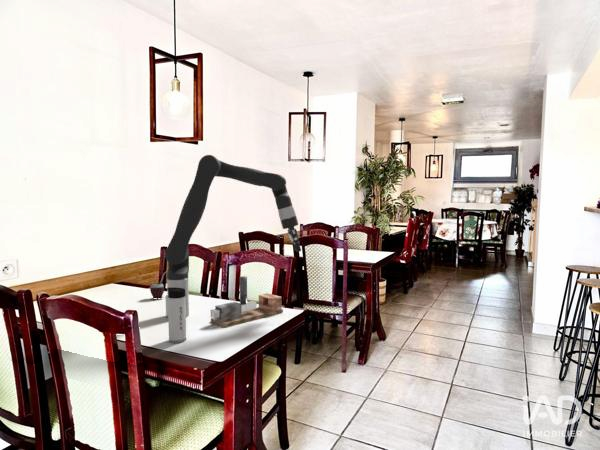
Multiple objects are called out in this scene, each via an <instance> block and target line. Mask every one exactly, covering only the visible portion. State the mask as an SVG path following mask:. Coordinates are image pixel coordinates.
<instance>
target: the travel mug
mask: <svg viewBox="0 0 600 450" xmlns="http://www.w3.org/2000/svg"><path fill="white" fill-rule="evenodd" d="M167 290H168V317H167V318H168V341H169V343H171V344H181V343H184V342H185V341H186V340H187V316H186V298H185V297H186V296H185V289H183V288H177V287H173V288H170V287H168V288H167V287H166V291H167Z"/></svg>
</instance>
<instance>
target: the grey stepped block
mask: <svg viewBox="0 0 600 450" xmlns="http://www.w3.org/2000/svg"><path fill="white" fill-rule="evenodd" d="M239 303H240V304H241V312H244V311H248V310H252V309H256V308H257V301H254V300H251V301H248V276H245V275H244V276H239ZM209 313H210V318H218V317H221V309H219V308H217V309H215V308H213V309H210V312H209Z"/></svg>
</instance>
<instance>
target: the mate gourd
mask: <svg viewBox="0 0 600 450" xmlns="http://www.w3.org/2000/svg"><path fill="white" fill-rule="evenodd" d="M167 272H168V269H167V270H166V271H165V272H163V274H162V276H161V280H160V282H157V283H156V282H154V283H152V284H151V285H150V287H149V288H150V289H149V291H150V294H151V296H152V299H153V298H163V295H164V293H165V287H164V286H165V285H164V284H163V282H162V281H163V279H164V276H165V275H166V274H167Z"/></svg>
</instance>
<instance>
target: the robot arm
mask: <svg viewBox="0 0 600 450" xmlns="http://www.w3.org/2000/svg"><path fill="white" fill-rule="evenodd" d="M195 172H196V173H195V177H194V180H193V182H192V185H191V188H189V190H188V191H189V192H188V193H187V196H186V198H185V201H184V202H183V205H182V208H181V210H180V214H179V217H178V220H177V223H176V227H175V231H174V233H173V235H172V238H171V239H170V242H169V244H168V246H167V247H166V249H165V251H164V255H165V260H166V261H167V263H168V264H167V265H168V267H167V270H168V271H167V272H166V282H167V283H166V285H167V286H166V291H167V293H166V295H165V317H167V318H168V290H167V288H168V287H170V288H173V287H177V288H183V289H185V296H186V297H185V298H186V317H188V316H189V315H190V309H189V308H190V302H189V301H190V300H189V295H190V294H189V293H190V292H189V272H190V252H189V247H188V246H189V243H190V241H191V238H192V236H193V234H194V232H196V229H197V227H198V226H199V224H200V222H201V220H202V218H203V215H204V212H205V209H206V205H207V202H208V197H209V191H210V188H211V185H212V183H213V181H214V178H215V177H219V178H226V179H232V180H236V181H238V182H241V183H245V184H249V185H253V186H257V187H258V186H259V187H266V188H268V189H271V191H272V194H273V197H274V200H275V203H276V207H277V212H278V216H279V221H280V224H281V227H282V230H287V235H288V238H289V241H290V242H291V244H292V247H293V250H294V251H295V252H297V253H300V252H301V251H302V249H301V248H302V247H301V245H300V239H299V235H298V231H297V229H296V228H295V227H297V226H298V225H299V222H298V218H297V214H296V211H295V207H294V206H293V203H292V199H291V196H290V195H289V193H288V189H287V179H286V178H285V177H284V175H282V174H279V173H274V172H273V173H272V172H268V171H267V172H266V171H263V170H261V169H260V170H259V169H255V168H251V167H246V166H238V165H234V164H229V163H227V162H224V161H222V160H219V159H218V158H217V157H216V156H215V155H212V154H206V155H203V156H202V157H201V158H200V160H199V161H198V165H197V170H196V171H195Z"/></svg>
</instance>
